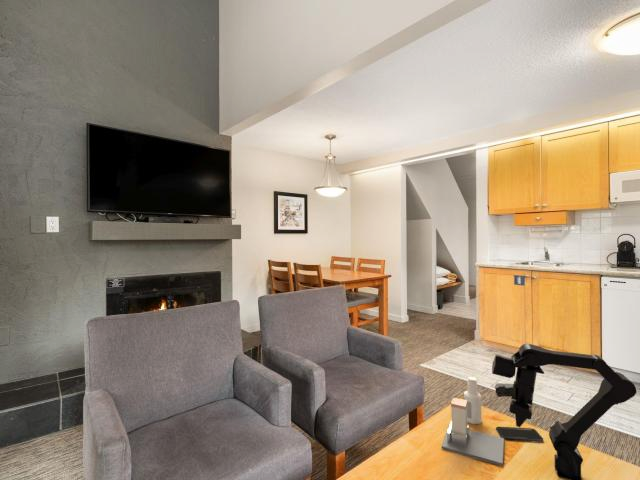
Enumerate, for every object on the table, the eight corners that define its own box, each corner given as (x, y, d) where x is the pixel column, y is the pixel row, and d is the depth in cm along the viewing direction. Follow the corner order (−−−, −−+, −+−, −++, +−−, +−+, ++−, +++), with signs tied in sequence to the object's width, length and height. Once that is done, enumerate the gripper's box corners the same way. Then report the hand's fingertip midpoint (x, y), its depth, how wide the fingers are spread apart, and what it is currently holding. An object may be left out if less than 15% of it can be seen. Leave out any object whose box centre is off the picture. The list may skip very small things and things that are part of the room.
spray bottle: (468, 414, 150) (468, 373, 150) (484, 420, 145) (484, 378, 144) (461, 419, 146) (460, 378, 145) (476, 426, 140) (476, 383, 140)
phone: (494, 426, 139) (534, 428, 137) (495, 429, 139) (534, 431, 137) (502, 438, 131) (544, 440, 129) (502, 440, 131) (544, 443, 129)
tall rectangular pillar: (467, 436, 132) (467, 400, 132) (465, 443, 127) (465, 406, 127) (453, 432, 135) (453, 397, 134) (451, 439, 130) (450, 403, 130)
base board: (503, 440, 131) (503, 438, 131) (502, 466, 117) (502, 463, 117) (448, 426, 141) (448, 424, 141) (441, 448, 127) (441, 446, 127)
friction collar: (468, 434, 133) (468, 425, 133) (466, 446, 126) (466, 437, 126) (451, 430, 137) (450, 421, 137) (447, 441, 129) (447, 432, 129)
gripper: (501, 366, 129) (495, 407, 129) (495, 381, 113) (488, 427, 114) (536, 377, 123) (529, 419, 123) (535, 394, 107) (527, 442, 107)
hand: (518, 426), depth 117 cm, fingers closed
